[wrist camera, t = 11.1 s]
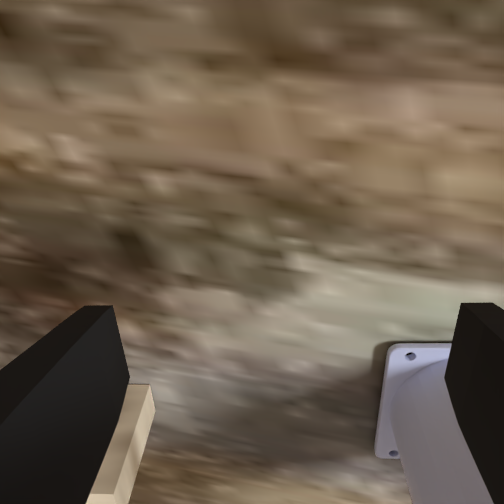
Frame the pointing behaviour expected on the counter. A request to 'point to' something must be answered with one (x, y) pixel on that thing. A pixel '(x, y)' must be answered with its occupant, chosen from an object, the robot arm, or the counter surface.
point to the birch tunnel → (125, 448)
